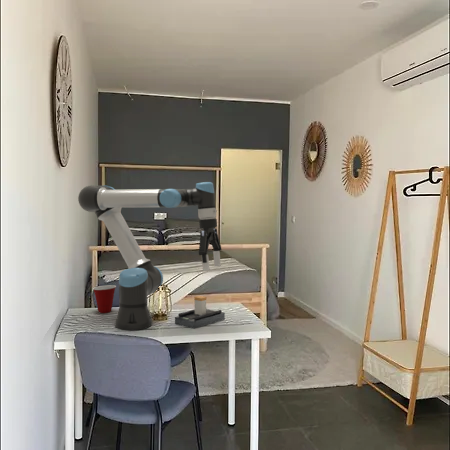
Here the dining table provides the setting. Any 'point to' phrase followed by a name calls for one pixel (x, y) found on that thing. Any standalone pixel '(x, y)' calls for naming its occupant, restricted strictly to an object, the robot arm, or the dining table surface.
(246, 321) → the dining table surface
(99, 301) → the plastic cup
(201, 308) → the switch knob
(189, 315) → the switch panel
